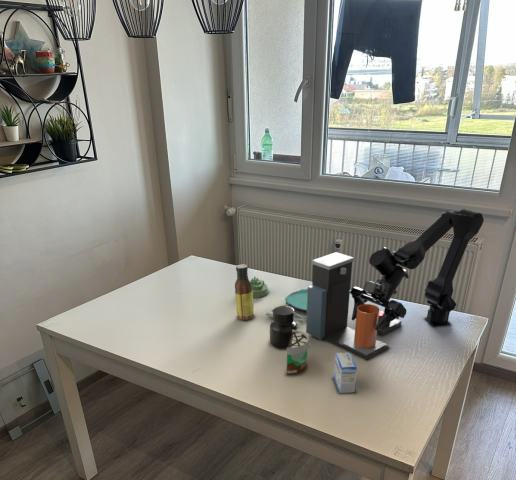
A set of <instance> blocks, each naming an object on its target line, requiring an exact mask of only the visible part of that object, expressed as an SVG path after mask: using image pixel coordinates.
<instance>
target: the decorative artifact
mask: <svg viewBox="0 0 516 480" xmlns="http://www.w3.org/2000/svg"><path fill="white" fill-rule="evenodd" d="M250 279H251V280H249V282H250V284H251V286H252V294H253V299H256V298H257V299H258V298H262V297H265V296H267V294H268V293H269V292H268V284H266V283H265V280H263V279H259V278H258V277H256V276H254V277H252V278H250Z"/></svg>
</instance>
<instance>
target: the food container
mask: <svg viewBox="0 0 516 480" xmlns="http://www.w3.org/2000/svg"><path fill="white" fill-rule="evenodd" d="M310 347H311V341H310V338H309V336H308V335H307V333H306V332H303V331H301V330H298V329H297V330H292V336H291V339H290V343H289V346H288V348H286V353H285V355H286V376H295V375H299V374H302V373H303V372H304V371H305V370H306V365H307V358H308V357H307V356H308V350H309V349H310Z"/></svg>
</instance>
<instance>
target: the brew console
mask: <svg viewBox="0 0 516 480" xmlns="http://www.w3.org/2000/svg"><path fill="white" fill-rule="evenodd" d="M378 322H379V320H378ZM401 326H402V320H400V319H394V320H393V321H391V322H389V323H387V324H386V325H384V326H383V327H381V328H380V329H378V330H377V335H379V336H381V337H382V336H384V335H386V334H387V333H390V332H391V331H394V330H395V329H398V328H399V327H401Z"/></svg>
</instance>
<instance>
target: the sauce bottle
mask: <svg viewBox="0 0 516 480" xmlns="http://www.w3.org/2000/svg"><path fill="white" fill-rule="evenodd" d="M248 269H249V268H248V265H247V264H244V263H243V264H242V263H241V264H238V265H236V266H235V271H236V280H235V282H234V295H235V296H234V297H235V308H236V315H237V318H238V320H242V321H249V320H252V319H254V317H255V315H254V313H255V310H254V309H255V308H254V298H253V294H252V286H251V284H250V282H249V281H250V280H249V274H248Z"/></svg>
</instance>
